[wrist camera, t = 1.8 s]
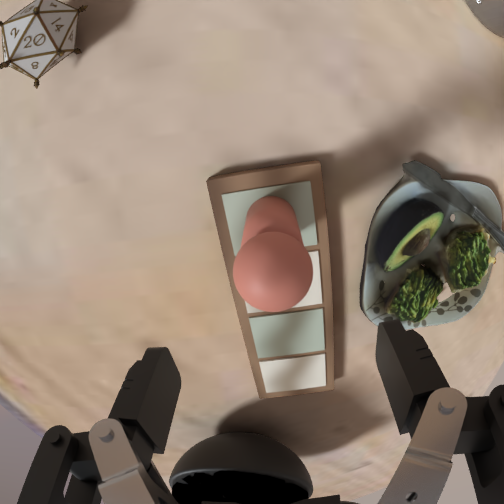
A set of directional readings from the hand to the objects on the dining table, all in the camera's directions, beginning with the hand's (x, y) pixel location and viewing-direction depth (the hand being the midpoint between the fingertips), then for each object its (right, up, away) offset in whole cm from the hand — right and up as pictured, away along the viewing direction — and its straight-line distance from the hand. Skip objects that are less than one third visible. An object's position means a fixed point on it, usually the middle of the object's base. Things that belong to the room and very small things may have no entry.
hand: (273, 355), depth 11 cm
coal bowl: (-2, -25, +31) cm, 40 cm away
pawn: (+1, +6, +14) cm, 15 cm away
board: (+2, -1, +19) cm, 19 cm away
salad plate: (+17, +4, +17) cm, 24 cm away
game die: (-19, +24, +9) cm, 31 cm away
